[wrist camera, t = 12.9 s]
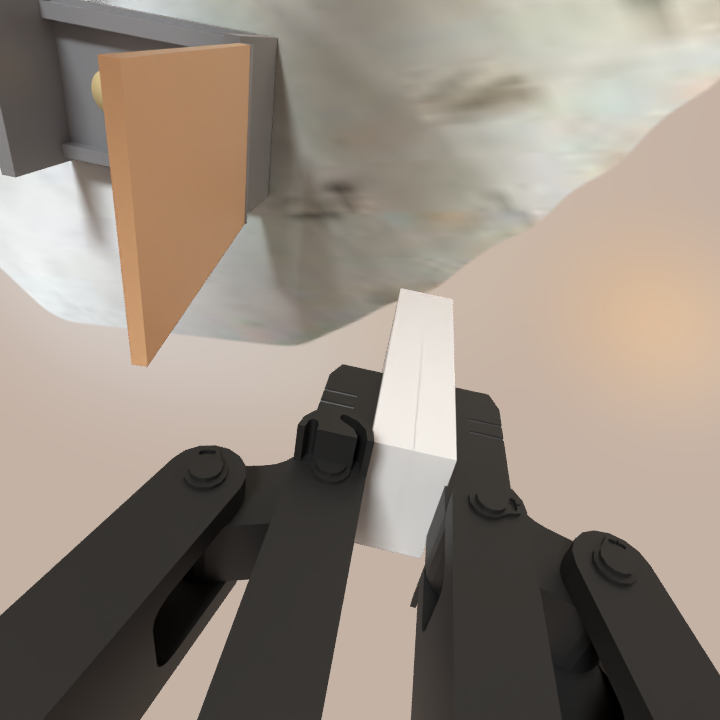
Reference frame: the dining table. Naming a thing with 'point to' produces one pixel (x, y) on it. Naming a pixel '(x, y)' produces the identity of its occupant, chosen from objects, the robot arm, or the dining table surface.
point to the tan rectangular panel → (175, 174)
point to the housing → (82, 80)
